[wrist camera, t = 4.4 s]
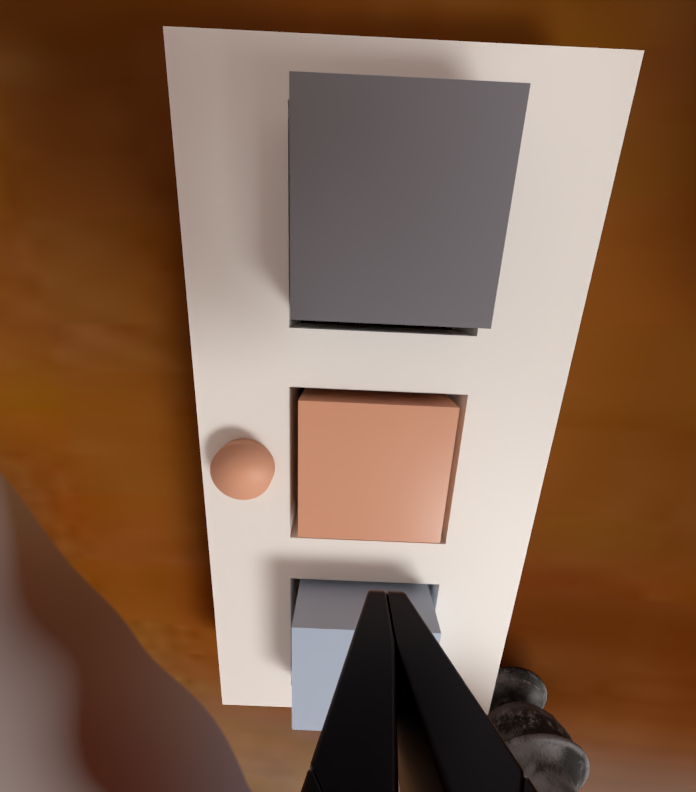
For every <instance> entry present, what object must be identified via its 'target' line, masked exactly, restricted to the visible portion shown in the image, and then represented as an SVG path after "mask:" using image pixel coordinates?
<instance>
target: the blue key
mask: <svg viewBox="0 0 696 792" xmlns="http://www.w3.org/2000/svg"><path fill="white" fill-rule="evenodd" d="M369 590H383V591H385V592H386V593H387V592H388V591H403V592H405V593H406V595H407V596H408V598H409V599H410V601H411V602H412V604H413V605H414V607H415V608H416V610H417V611H418V613H419V614H420V616H421V617H422V619H423V620H424V622H425V623H426V625H427V626H428V628H429V629H430V631H431V632H432V634H433V635H434V637H435V638H436V640H437V641H438V643H439V644H440V639H441V630H440V627H439V623H438V620H437V616H436V612H435V609H434V605H433V601H432V598H431V594H430V591H429V587H428V584H416V583H392V582H368V581H344V580H320V579H300V584H299V589H298V595H297V600H296V606H295V611H294V617H293V622H292V729H294V730H320V731H322V728H323V725H324V722H325V719H326V716H327V713H328V710H329V707H330V704H331V701H332V698H333V695H334V692H335V689H336V686H337V683H338V680H339V677H340V673H341V670H342V667H343V664H344V661H345V658H346V655H347V652H348V649H349V646H350V643H351V640H352V637H353V634H354V631H355V628H356V625H357V622H358V619H359V616H360V613H361V610H362V607H363V604H364V601H365V598H366V595H367V592H368V591H369Z"/></svg>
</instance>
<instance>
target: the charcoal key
mask: <svg viewBox="0 0 696 792" xmlns="http://www.w3.org/2000/svg"><path fill="white" fill-rule="evenodd" d="M530 84H531V83H518V82H498V81H478V80H458V79H438V78H418V77H398V76H378V75H358V74H338V73H318V72H298V71H289V151H290V320H308V321H330V322H352V323H374V324H395V325H417V326H439V327H461V328H483V329H491V325H492V319H493V313H494V306H495V300H496V294H497V288H498V282H499V276H500V269H501V263H502V257H503V251H504V245H505V239H506V232H507V226H508V220H509V214H510V208H511V202H512V195H513V189H514V183H515V177H516V171H517V165H518V158H519V152H520V146H521V140H522V134H523V128H524V121H525V115H526V109H527V103H528V97H529V91H530Z"/></svg>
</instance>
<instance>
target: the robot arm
mask: <svg viewBox="0 0 696 792" xmlns="http://www.w3.org/2000/svg"><path fill="white" fill-rule="evenodd" d="M398 780H399V787H400V792H538V791H537V790H536V788H535V787H534V785H533V784H532V782H531V781H530V779H529V778H528V777H524V771H523V769H522V768H521V766H520V765H519V763H518V762H517V760H516V759H515V757H514V756H513V754H512V753H511V751H510V750H509V748H508V747H507V745H506V744H505V742H504V740H503V739H502V737H501V736H500V734H499V733H498V731H497V730H496V728H495V727H494V725H493V724H492V722H491V721H490V719H489V718H488V716H487V715H486V713H485V712H484V710H483V709H482V707H481V706H480V704H479V703H478V701H477V700H476V698H475V697H474V695H473V694H472V692H471V691H470V689H469V688H468V686H467V685H466V683H465V682H464V680H463V679H462V677H461V676H460V674H459V673H458V671H457V670H456V668H455V667H454V665H453V664H452V662H451V661H450V659H449V658H448V656H447V655H446V653H445V652H444V650H443V649H442V647H441V646H440V644H439V643H438V641H437V640H436V638H435V637H434V635H433V634H432V632H431V631H430V629H429V628H428V626H427V625H426V623H425V622H424V620H423V619H422V617H421V616H420V614H419V613H418V611H417V610H416V608H415V607H414V605H413V604H412V602H411V601H410V599H409V598H408V596H407V595H406V593H405V592H403V591H388V592H387V593H386V592H385V591H383V590H369V591H368V592H367V595H366V598H365V601H364V604H363V607H362V610H361V613H360V616H359V619H358V622H357V625H356V628H355V631H354V634H353V637H352V640H351V643H350V646H349V649H348V652H347V655H346V658H345V661H344V664H343V667H342V670H341V673H340V677H339V680H338V683H337V686H336V689H335V692H334V695H333V698H332V701H331V704H330V707H329V710H328V713H327V716H326V719H325V722H324V725H323V728H322V731H321V734H320V737H319V740H318V743H317V746H316V749H315V752H314V755H313V758H312V761H311V764H310V769H309V770H308V772H307V775H306V778H305V781H304V784H303V787H302V790H301V792H398Z"/></svg>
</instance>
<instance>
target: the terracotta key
mask: <svg viewBox="0 0 696 792" xmlns="http://www.w3.org/2000/svg"><path fill="white" fill-rule="evenodd" d="M459 410H460V407H458V406H457V405H456V404H455V403H454V402H453V401H452V400H451V399H450V398H449V397H448V396H447V395H446V394H438V393H416V392H394V391H371V390H349V389H326V388H305V389H304V391H303V393H302V394H301V396H300V398H299V400H298V537H310V538H334V539H358V540H382V541H405V542H429V543H440V540H441V533H442V526H443V519H444V513H445V506H446V499H447V492H448V485H449V478H450V471H451V465H452V458H453V451H454V444H455V437H456V430H457V423H458V417H459Z"/></svg>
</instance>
